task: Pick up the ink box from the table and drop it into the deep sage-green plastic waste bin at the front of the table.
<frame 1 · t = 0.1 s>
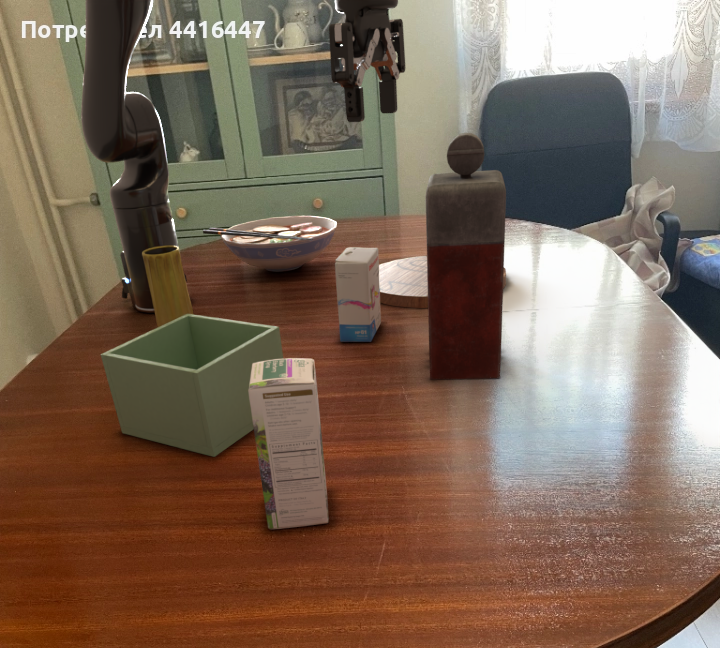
hand: (372, 117, 93), 29 cm above the table, tool pointing down, fingers open, 8 cm apart
waste bin: (207, 418, 88), on the table
ramen bowl: (284, 267, 145), on the table
trivet: (433, 285, 128), on the table
vase: (180, 345, 111), on the table
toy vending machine: (464, 363, 97), on the table
ink box: (361, 333, 110), on the table
syrup box: (300, 512, 70), on the table
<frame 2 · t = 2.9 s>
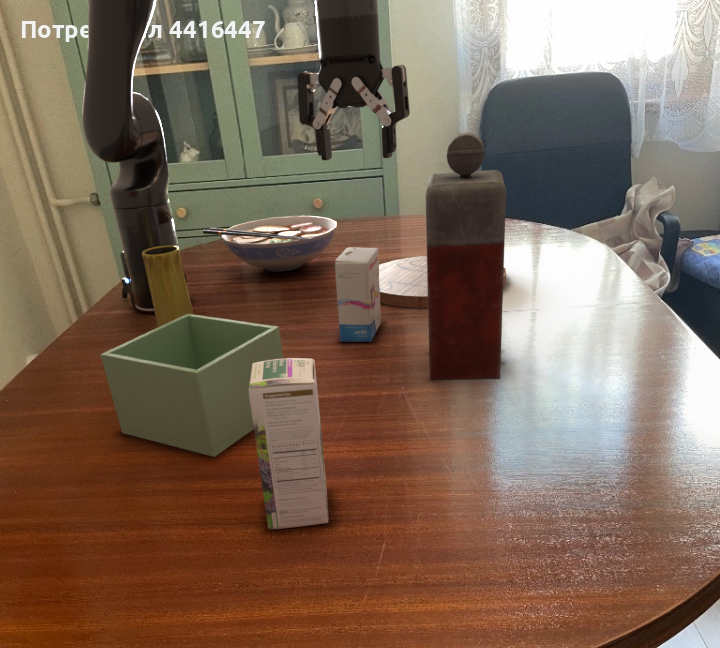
hand: (356, 158, 96), 24 cm above the table, tool pointing down, fingers open, 8 cm apart
nothing on the table moved.
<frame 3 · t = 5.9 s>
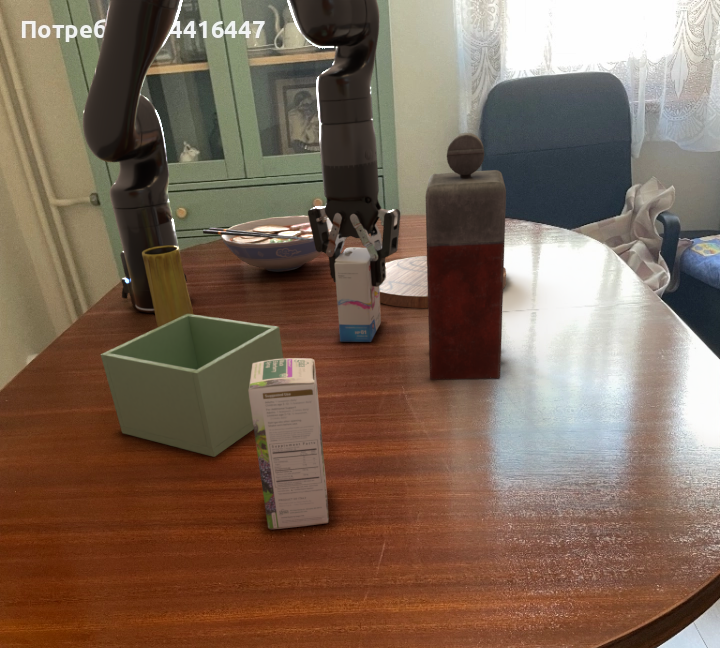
hand: (358, 282, 106), 8 cm above the table, tool pointing down, fingers closed on ink box, 6 cm apart
ink box: (361, 333, 110), on the table, touching gripper
everything else where it was.
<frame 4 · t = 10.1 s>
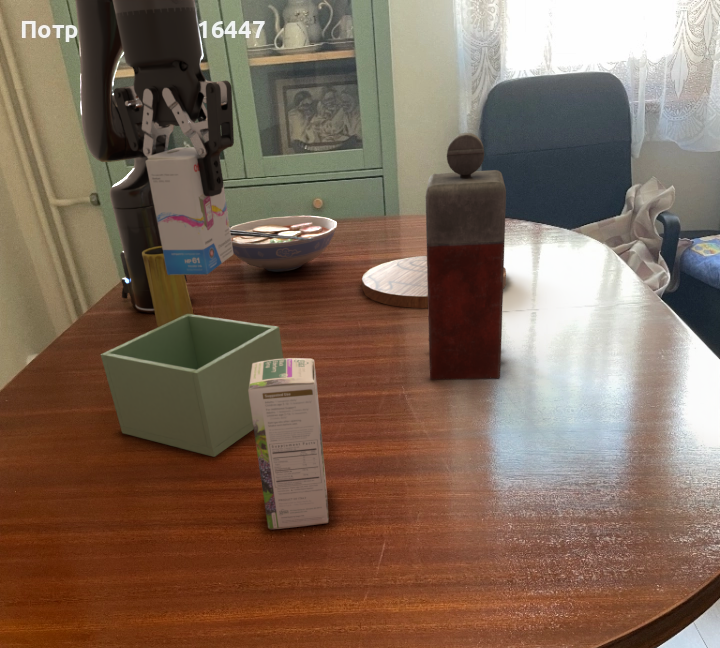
hand: (189, 193, 77), 25 cm above the table, tool pointing down, fingers closed on ink box, 6 cm apart
ink box: (203, 266, 82), point 17 cm above the table, touching gripper
everything else where it was.
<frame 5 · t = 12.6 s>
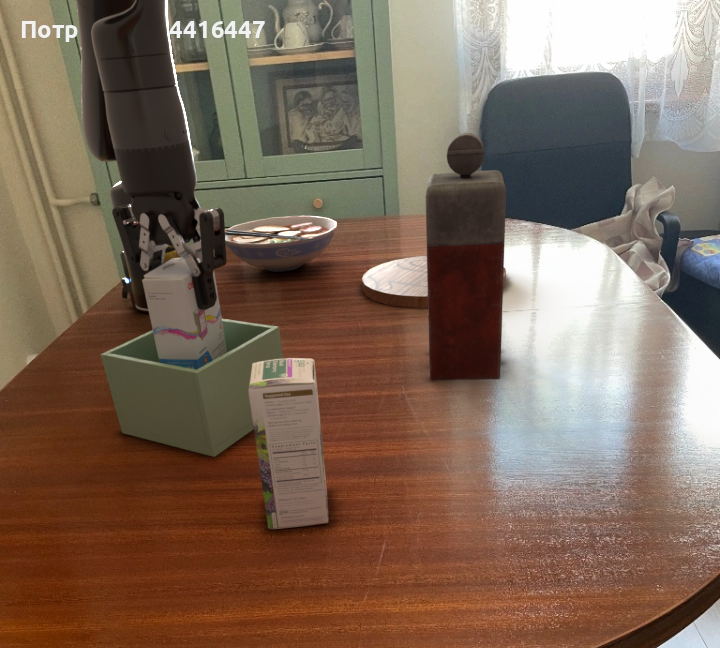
hand: (184, 304, 81), 14 cm above the table, tool pointing down, fingers closed on ink box, 6 cm apart
ink box: (197, 369, 85), point 6 cm above the table, touching gripper
everything else where it was.
when the fingers open (9 cm above the table, at t = 14.6 s): ink box stays where it is, resting on waste bin.
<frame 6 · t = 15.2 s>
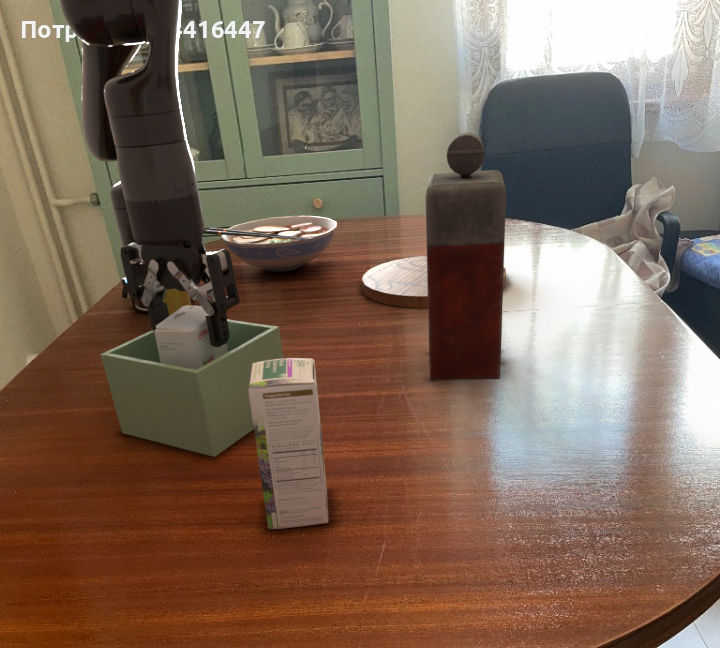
hand: (191, 340, 83), 10 cm above the table, tool pointing down, fingers open, 8 cm apart
ink box: (206, 411, 88), point 1 cm above the table, touching waste bin
everything else where it was.
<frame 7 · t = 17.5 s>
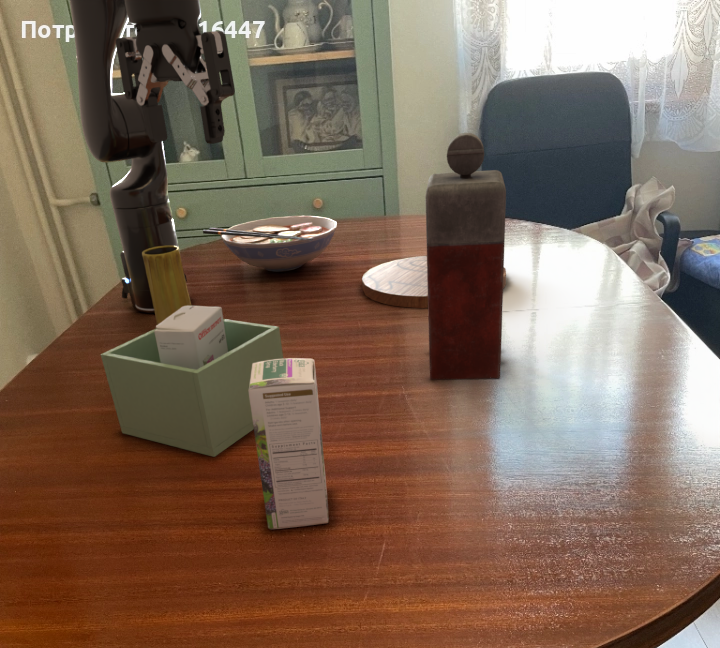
hand: (186, 142, 82), 29 cm above the table, tool pointing down, fingers open, 8 cm apart
nothing on the table moved.
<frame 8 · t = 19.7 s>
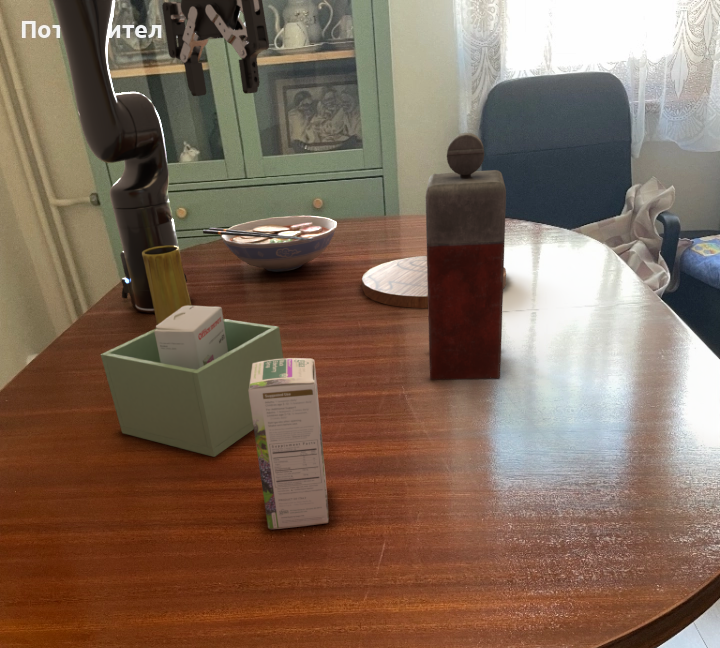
hand: (224, 94, 93), 33 cm above the table, tool pointing down, fingers open, 8 cm apart
nothing on the table moved.
at the end: ink box inside the target area in the waste bin (0.1 cm from its centre), point 0.8 cm above the waste bin's base; the gripper is holding nothing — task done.
